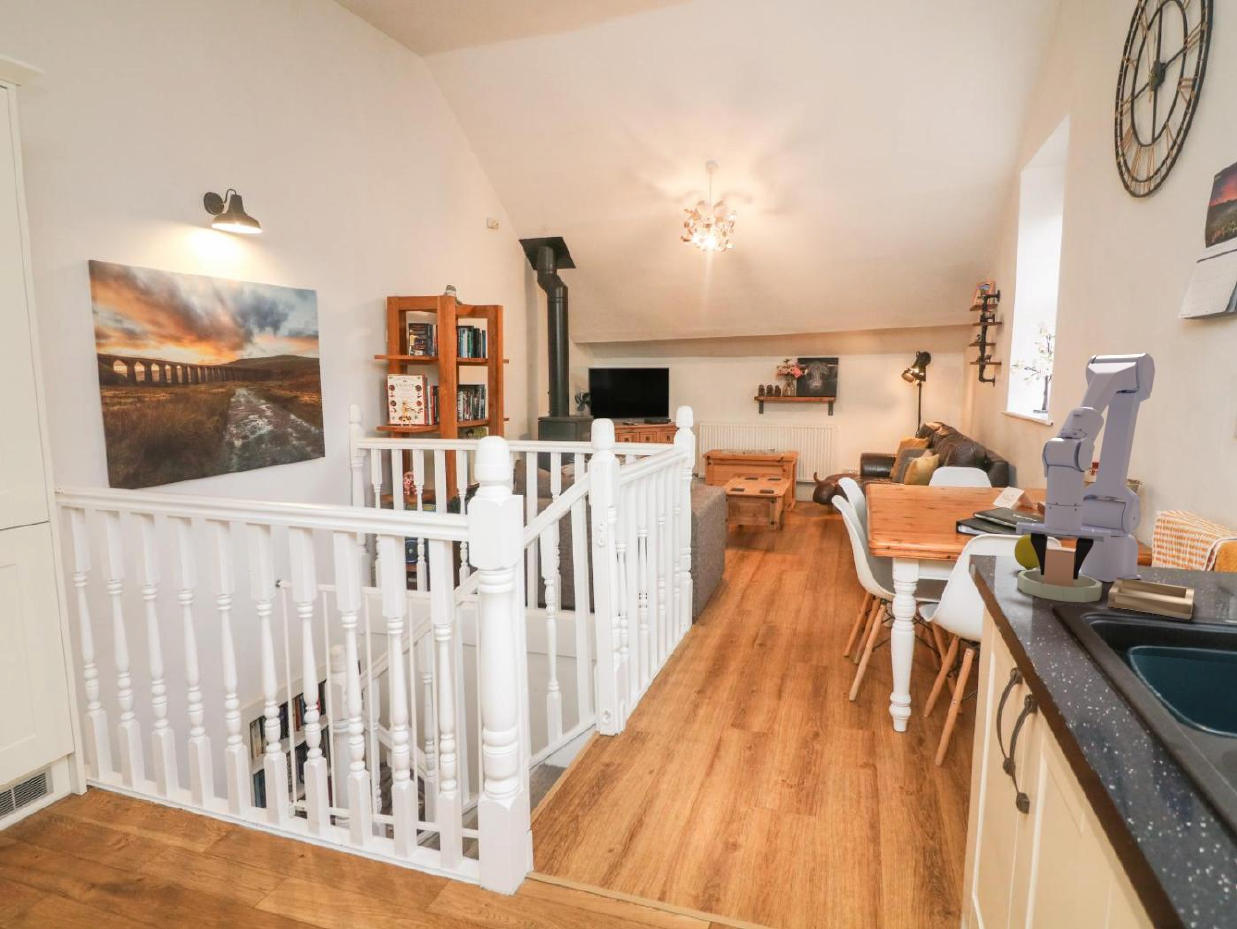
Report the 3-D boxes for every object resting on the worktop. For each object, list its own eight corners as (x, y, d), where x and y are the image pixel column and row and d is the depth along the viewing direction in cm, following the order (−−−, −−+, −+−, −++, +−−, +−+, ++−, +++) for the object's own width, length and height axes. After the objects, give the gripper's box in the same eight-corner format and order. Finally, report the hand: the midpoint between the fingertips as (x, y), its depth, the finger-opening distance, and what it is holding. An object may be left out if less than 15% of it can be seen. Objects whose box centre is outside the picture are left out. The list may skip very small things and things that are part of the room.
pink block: (1045, 587, 130) (1048, 545, 129) (1073, 591, 127) (1075, 548, 126) (1043, 592, 126) (1045, 550, 126) (1071, 596, 124) (1074, 553, 123)
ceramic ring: (1052, 579, 135) (1053, 567, 135) (1117, 597, 123) (1118, 584, 123) (1002, 585, 131) (1003, 572, 131) (1064, 605, 119) (1065, 591, 119)
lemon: (1016, 573, 140) (1018, 534, 139) (1011, 566, 145) (1013, 529, 144) (1047, 575, 138) (1049, 536, 137) (1041, 568, 143) (1043, 531, 142)
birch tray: (1116, 590, 127) (1117, 577, 127) (1193, 602, 120) (1194, 588, 120) (1107, 606, 118) (1108, 592, 118) (1190, 620, 111) (1191, 605, 110)
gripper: (1015, 502, 126) (1011, 574, 128) (1112, 510, 118) (1106, 587, 119) (1020, 498, 132) (1016, 567, 133) (1113, 505, 123) (1107, 578, 125)
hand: (1059, 576), depth 127 cm, fingers closed on pink block, 4 cm apart
